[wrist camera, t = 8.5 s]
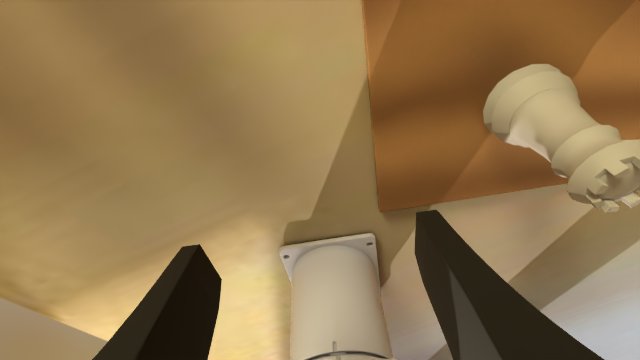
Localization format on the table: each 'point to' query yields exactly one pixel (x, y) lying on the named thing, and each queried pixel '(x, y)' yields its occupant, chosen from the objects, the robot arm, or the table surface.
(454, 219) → the table surface
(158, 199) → the table surface
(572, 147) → the rook chess piece
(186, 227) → the table surface
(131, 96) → the table surface
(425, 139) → the brown wooden board
